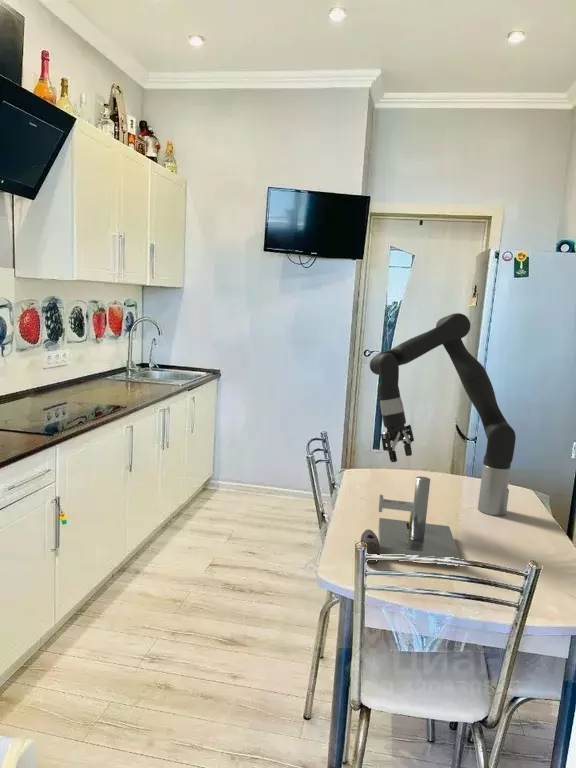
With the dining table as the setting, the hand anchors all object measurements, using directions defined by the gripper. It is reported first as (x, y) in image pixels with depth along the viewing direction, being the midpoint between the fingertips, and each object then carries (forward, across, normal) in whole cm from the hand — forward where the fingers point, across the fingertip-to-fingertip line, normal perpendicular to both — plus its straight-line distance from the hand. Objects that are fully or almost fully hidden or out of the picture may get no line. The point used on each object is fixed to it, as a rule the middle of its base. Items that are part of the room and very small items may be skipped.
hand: (401, 458), depth 186 cm
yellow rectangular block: (+22, +12, +8) cm, 26 cm away
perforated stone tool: (+20, +34, +8) cm, 40 cm away
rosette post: (+23, +17, +12) cm, 31 cm away
